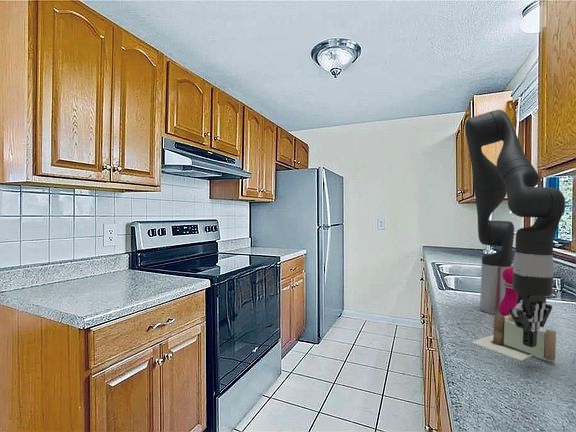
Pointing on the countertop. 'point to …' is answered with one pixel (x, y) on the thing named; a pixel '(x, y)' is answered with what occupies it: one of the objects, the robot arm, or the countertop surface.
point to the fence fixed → (500, 328)
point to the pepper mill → (508, 293)
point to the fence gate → (544, 341)
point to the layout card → (502, 348)
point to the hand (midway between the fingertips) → (529, 345)
